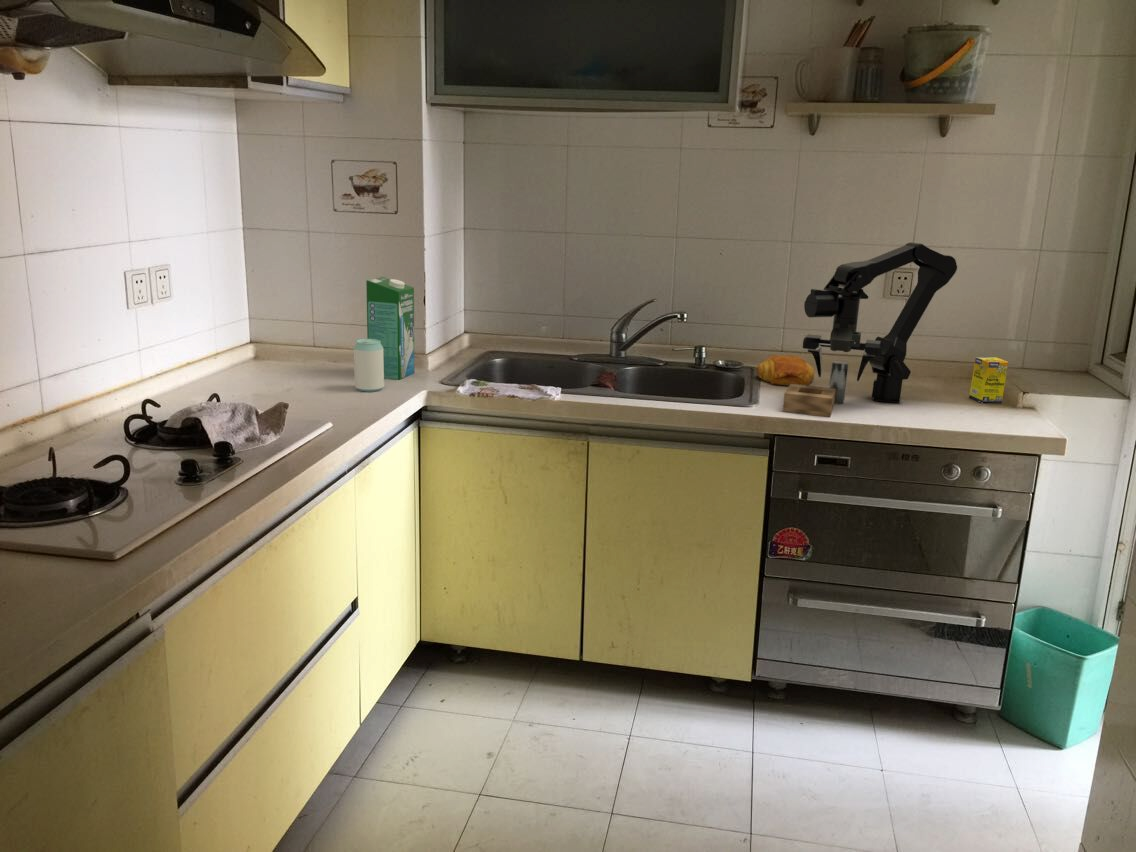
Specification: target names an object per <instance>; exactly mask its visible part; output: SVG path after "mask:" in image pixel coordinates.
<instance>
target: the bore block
mask: <svg viewBox="0 0 1136 852" xmlns="http://www.w3.org/2000/svg"><path fill="white" fill-rule="evenodd" d="M835 393H836V389H834V388H829V387H824V386H816V385H815V386H814V385H798V384H790V385H789V386H787V389H786V390H785V392H784V395H783V405H782V412H785V413H793V414H800V413H802V415H809V416H810V415H811V416H816V417H817V416H818V417H825V418H826V417H827V418H830V417H831V415H832V413H833V410H834V408H833V407H835V404H834V401H835Z"/></svg>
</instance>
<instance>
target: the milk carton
mask: <svg viewBox="0 0 1136 852" xmlns="http://www.w3.org/2000/svg"><path fill="white" fill-rule="evenodd" d="M365 284H366V285H365V286H366V287H365V288H366V321H367V322H366V331H367V332H366V333H367V338H366V339H376V340H380V341H381V342H380V343H381V345H382V346H383V358H384V379H388V380H389V379H391V380H400V381H401V380H402V379H404V378H407V377H408V376H410V375H413V374H415V287H413V286H410V285H408V284H406V283H405V281H402V280H399V279H394V278H388V277H385V276H379V277H375V278H371V279H367V280H366V282H365Z"/></svg>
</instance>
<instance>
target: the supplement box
mask: <svg viewBox="0 0 1136 852" xmlns="http://www.w3.org/2000/svg"><path fill="white" fill-rule="evenodd" d="M1009 363H1010V362H1009V361H1007V360H1004V359H1002V358H1000V357H999V358H998V357H986V356H985V357H979V356H976V357H975V360H974V365H973V370H972V371H973V372H972V377H971V383H970V389H969V395H968V398H969V397H971V398H973V399H972V400H974V399H975V400H974V401H976V400H977V401H976V402H978V401H980V402H998V403H997V404H1001V403H1000V402H1003V396H1004V391H1005V386H1006V379H1007V374H1008V368H1009ZM971 398H970V399H971ZM980 402H979V403H980Z"/></svg>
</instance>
